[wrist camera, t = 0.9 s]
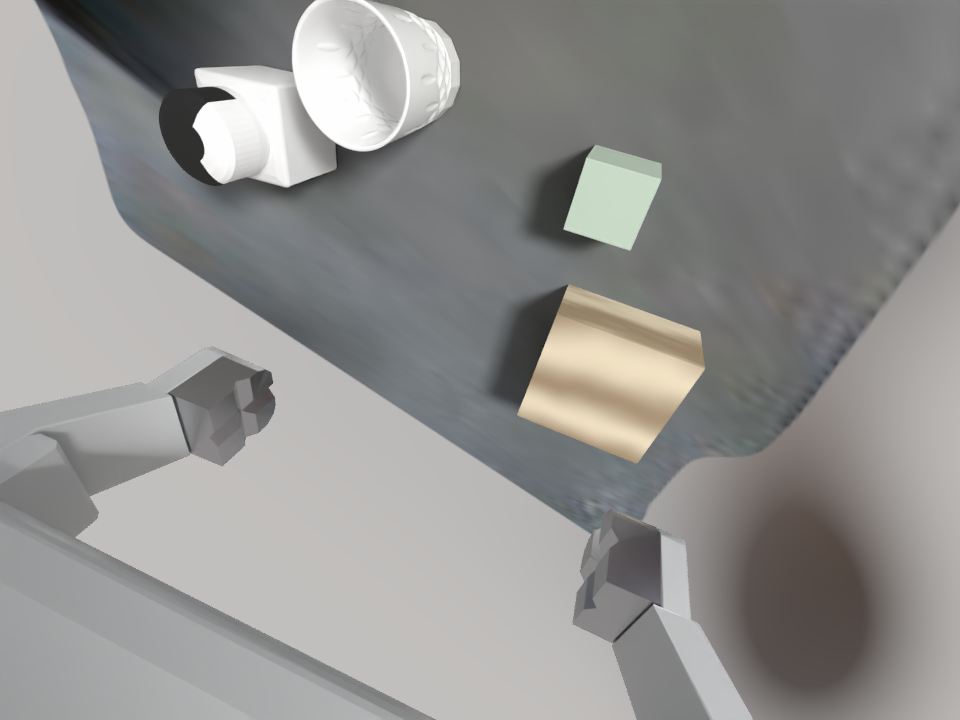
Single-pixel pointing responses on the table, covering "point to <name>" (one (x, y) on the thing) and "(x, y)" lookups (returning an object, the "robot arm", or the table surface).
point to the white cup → (372, 71)
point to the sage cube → (613, 196)
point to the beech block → (611, 374)
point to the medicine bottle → (244, 128)
